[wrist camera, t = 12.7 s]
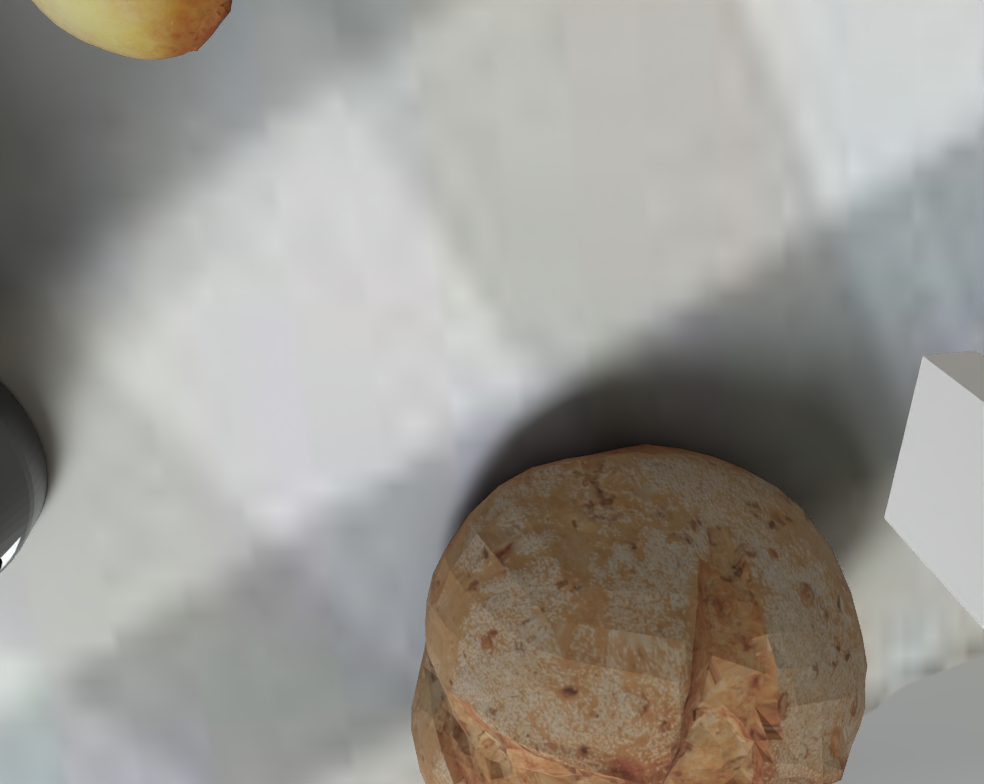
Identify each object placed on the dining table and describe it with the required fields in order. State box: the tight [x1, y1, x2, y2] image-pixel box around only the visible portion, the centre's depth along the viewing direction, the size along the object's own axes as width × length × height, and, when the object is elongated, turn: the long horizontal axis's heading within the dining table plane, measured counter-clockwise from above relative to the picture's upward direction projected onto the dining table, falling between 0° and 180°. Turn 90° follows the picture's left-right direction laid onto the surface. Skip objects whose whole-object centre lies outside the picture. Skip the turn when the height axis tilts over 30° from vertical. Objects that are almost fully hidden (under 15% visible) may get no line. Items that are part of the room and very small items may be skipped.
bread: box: [411, 444, 867, 784], centre depth 45 cm, size 26×23×15 cm
